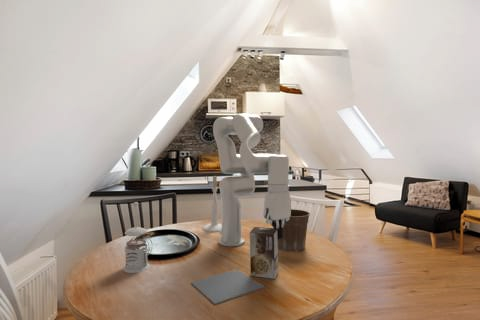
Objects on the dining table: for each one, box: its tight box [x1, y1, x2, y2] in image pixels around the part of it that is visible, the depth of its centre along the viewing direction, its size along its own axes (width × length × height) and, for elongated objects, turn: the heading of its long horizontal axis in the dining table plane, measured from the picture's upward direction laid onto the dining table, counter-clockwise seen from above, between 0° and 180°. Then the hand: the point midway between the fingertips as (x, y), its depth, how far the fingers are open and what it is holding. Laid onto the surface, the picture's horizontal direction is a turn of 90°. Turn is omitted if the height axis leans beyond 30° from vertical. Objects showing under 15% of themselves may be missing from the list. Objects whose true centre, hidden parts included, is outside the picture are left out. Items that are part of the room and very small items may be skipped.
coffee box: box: [249, 226, 279, 280], centre depth 105 cm, size 9×6×16 cm
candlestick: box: [203, 175, 222, 233], centre depth 163 cm, size 13×13×30 cm
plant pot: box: [278, 208, 311, 252], centre depth 133 cm, size 16×16×16 cm
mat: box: [190, 269, 265, 306], centre depth 97 cm, size 16×18×1 cm
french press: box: [122, 201, 153, 274], centre depth 110 cm, size 10×12×25 cm
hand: (277, 237), depth 108 cm, fingers closed
